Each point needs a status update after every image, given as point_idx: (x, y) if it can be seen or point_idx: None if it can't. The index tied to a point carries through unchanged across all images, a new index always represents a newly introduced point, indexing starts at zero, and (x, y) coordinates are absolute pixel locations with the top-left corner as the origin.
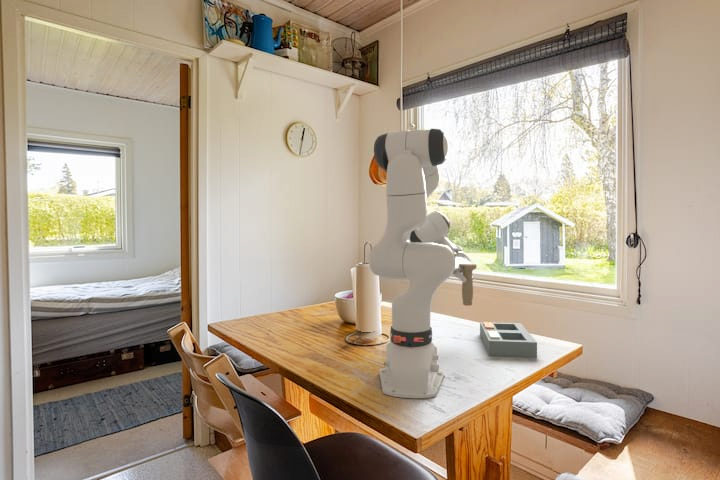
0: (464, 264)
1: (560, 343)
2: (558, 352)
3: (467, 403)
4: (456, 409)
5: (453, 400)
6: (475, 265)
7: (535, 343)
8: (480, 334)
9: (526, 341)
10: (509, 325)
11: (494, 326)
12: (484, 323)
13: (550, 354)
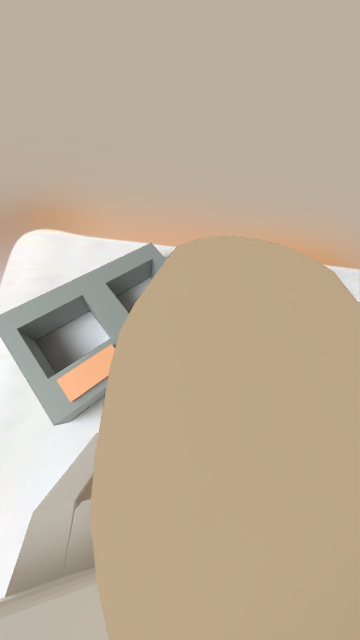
0: (356, 469)
1: (27, 253)
2: (94, 245)
3: (338, 272)
4: (354, 274)
5: (347, 284)
6: (237, 242)
7: (152, 246)
8: (78, 414)
9: (159, 257)
10: (25, 340)
11: (83, 358)
12: (85, 389)
13: (116, 251)
